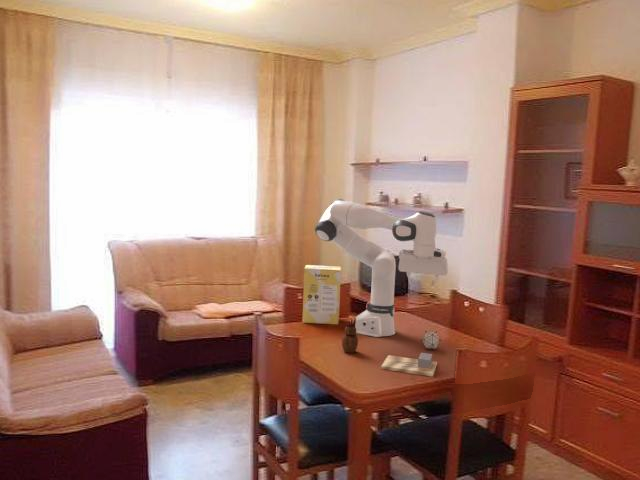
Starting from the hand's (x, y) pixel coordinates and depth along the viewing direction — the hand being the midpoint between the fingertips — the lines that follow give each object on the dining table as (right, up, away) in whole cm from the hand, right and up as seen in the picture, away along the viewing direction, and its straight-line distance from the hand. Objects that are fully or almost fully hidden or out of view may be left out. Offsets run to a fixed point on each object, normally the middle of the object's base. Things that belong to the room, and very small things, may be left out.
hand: (422, 283), depth 223 cm
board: (-7, -32, -10) cm, 35 cm away
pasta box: (-42, -24, +54) cm, 72 cm away
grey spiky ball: (+6, -30, +14) cm, 34 cm away
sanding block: (-1, -32, -12) cm, 34 cm away
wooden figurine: (-30, -30, +6) cm, 43 cm away
